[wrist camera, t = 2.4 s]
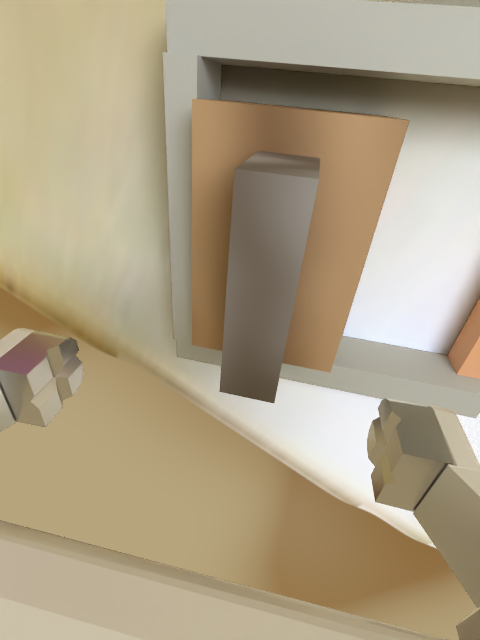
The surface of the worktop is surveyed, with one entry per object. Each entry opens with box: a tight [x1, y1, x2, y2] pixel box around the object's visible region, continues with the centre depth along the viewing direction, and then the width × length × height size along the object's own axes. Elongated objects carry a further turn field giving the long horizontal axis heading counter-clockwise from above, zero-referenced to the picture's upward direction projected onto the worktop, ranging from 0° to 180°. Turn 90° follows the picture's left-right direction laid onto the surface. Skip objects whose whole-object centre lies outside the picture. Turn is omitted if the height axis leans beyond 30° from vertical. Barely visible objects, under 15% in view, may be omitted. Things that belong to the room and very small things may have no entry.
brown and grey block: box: [192, 99, 409, 403], centre depth 16 cm, size 8×12×10 cm, turn 175°
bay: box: [163, 0, 480, 418], centre depth 18 cm, size 20×19×4 cm
